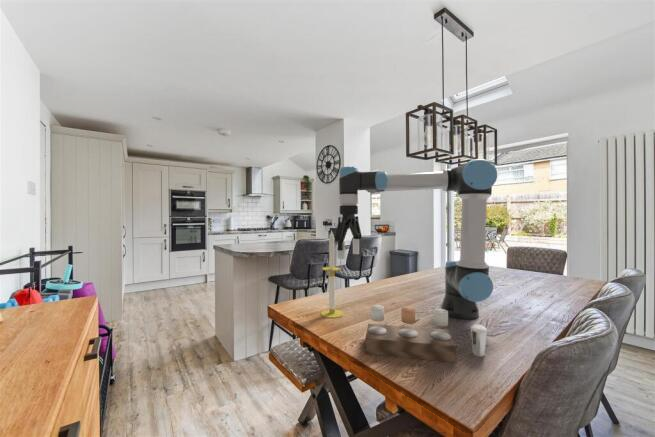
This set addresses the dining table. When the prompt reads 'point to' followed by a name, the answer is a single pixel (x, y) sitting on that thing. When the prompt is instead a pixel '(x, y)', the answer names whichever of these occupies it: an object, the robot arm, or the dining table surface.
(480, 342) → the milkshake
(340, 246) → the robot arm
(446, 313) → the knob
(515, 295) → the dining table surface
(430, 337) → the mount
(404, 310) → the knob middle
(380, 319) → the knob
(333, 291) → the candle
